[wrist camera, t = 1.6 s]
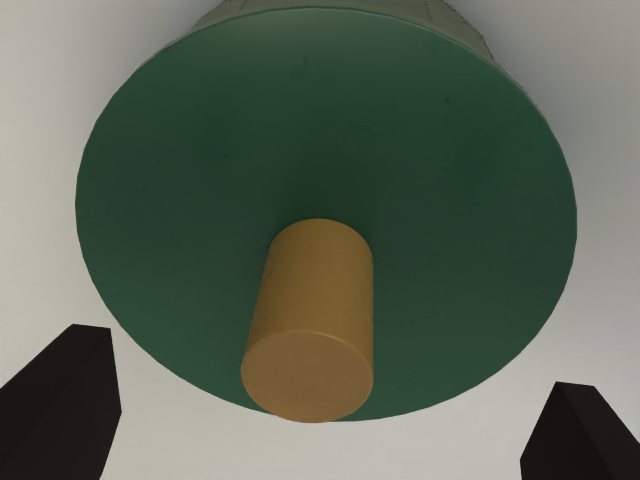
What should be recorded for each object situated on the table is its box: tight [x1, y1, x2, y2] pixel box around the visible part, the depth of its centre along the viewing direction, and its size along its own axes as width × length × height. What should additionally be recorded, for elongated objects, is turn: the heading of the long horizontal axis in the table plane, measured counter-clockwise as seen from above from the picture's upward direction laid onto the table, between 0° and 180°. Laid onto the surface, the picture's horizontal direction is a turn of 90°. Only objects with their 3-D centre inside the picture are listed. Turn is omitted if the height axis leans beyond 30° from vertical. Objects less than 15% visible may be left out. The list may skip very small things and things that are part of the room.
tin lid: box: [75, 0, 577, 423], centre depth 13 cm, size 11×11×5 cm
